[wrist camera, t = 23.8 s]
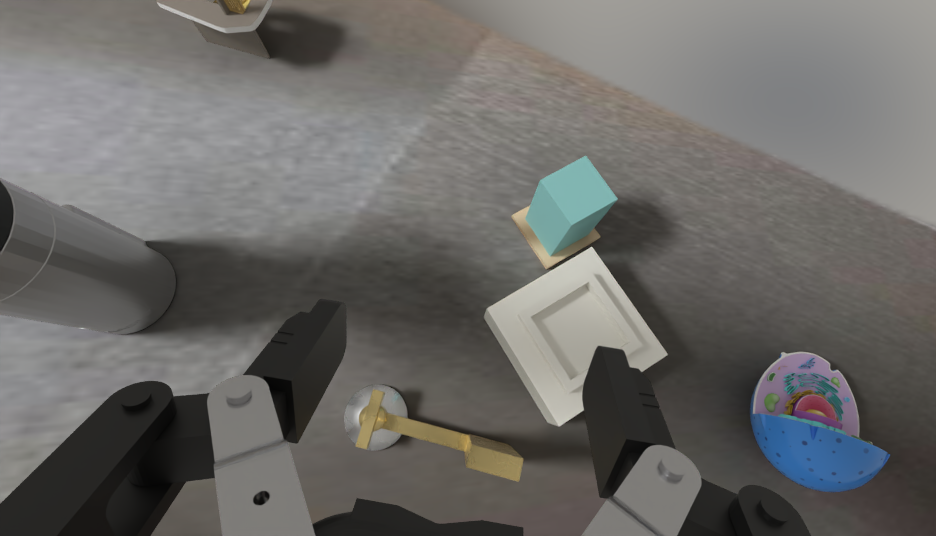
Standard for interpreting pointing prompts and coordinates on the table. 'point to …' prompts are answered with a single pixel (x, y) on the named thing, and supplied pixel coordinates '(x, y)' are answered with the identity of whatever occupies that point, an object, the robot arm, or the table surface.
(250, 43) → the two-pronged ringed stand
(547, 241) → the teal upright prism
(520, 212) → the pad
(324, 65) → the table surface
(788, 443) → the cell model
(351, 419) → the key socket
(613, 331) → the housing
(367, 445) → the key lever
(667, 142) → the table surface
